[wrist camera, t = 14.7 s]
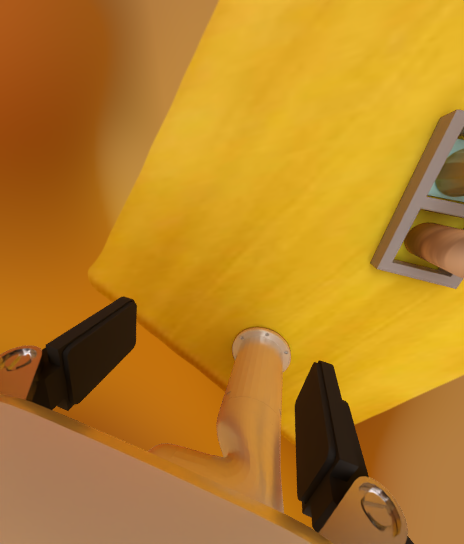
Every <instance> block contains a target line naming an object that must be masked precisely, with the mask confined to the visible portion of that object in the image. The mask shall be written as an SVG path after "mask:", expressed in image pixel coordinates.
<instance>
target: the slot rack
mask: <svg viewBox="0 0 464 544" xmlns="http://www.w3.org/2000/svg"><path fill="white" fill-rule="evenodd" d="M459 135H462V136H464V111H462V110H455V111H453V112H451V113H449V114H447V115H445V116H443V117H441V118H440V120H439V122H438V124H437V126H436V128H435V130H434V132H433V134H432V136H431V138H430V140H429V142H428V145H427V147H426V149H425V151H424V153H423V155H422V157H421V159H420V161H419V163H418V165H417V167H416V169H415V171H414V174H413V176H412V178H411V180H410V182H409V184H408V186H407V188H406V190H405V192H404V194H403V196H402V198H401V200H400V203H399V205H398V207H397V209H396V211H395V213H394V215H393V217H392V219H391V221H390V223H389V225H388V227H387V229H386V231H385V234H384V236H383V238H382V240H381V242H380V244H379V246H378V248H377V250H376V252H375V254H374V256H373V258H372V260H371V264H372V265H373V266H374V267H375V268H377V269H380V270H384V271H388V272H392V273H395V274H399V275H403V276H407V277H411V278H415V279H419V280H423V281H427V282H431V283H435V284H439V285H443V286H447V287H451V288H455V289H456V288H457V287H458V285H459V284H460V283H461V281H462V280H463V278H461V277H458V276H456V275H454V274H452V273H450V272H448V271H446V270H444V269H442V268H440V267H439V269H438V270H436V269H432V268H428V267H424V266H419V265H415V264H411V263H407V262H403V261H399V260H395V259H394V258H395V256H396V254H397V252H398V250H399V248H400V246H401V245H402V243H403V241H404V239H405V237H406V235H407V233H408V231H409V229H410V227H411V226H412V224H413V222H414V220H415V218H416V216H417V214H418V212H419V210H420V209H422V210H427V211H432V212H437V213H441V214H446V215H451V216H456V217H461V218H464V204H460V203H455V202H450V201H445V200H440V199H435V198H430V197H427V195H430V196H435V197H440V198H445V199H451V200H456V201H461V202H464V196H461V197H450V196H446V195H444V194H443V193H441V192H440V191H439V189H438V188H437V185H436V178H437V176H438V174H439V172H440V170H441V168H442V167H443V165H444V163H445V161H446V159H447V158H448V157H449V156H450V155H451V154H453V153H454V152H456V151H458V150H461V149H464V140H461V139H457V138H458V136H459ZM463 230H464V229H463Z"/></svg>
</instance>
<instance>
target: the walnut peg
mask: <svg viewBox="0 0 464 544" xmlns="http://www.w3.org/2000/svg"><path fill="white" fill-rule="evenodd" d="M405 247H406V249H407V250H408V251H409V252H410V253H412V254H414V255H416V256H418V257H420V258H422V259H424V260H426V261H428V262H430V263H432V264H434V265H436V266H438V267H440V268H442V269H444V270H446V271H448V272H450V273H452V274H454V275H456V276H458V277H461V278H464V230H462V229H457V228H453V227H448V226H444V225H439V224H435V223H422V224H419V225H417V226H415V227H414V228H412V229H411V230H410V231H409V232H408V233H407V235H406V237H405Z"/></svg>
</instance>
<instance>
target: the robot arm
mask: <svg viewBox="0 0 464 544" xmlns="http://www.w3.org/2000/svg"><path fill="white" fill-rule="evenodd" d="M136 311H137V305H136V303H135V301H134V300H133V299H130V298H126V297H121V298H119V299H117V300H116V301H114V302H113V303H111V304H110V305H108V306H106V307H105V308H104V309H102V310H100V311H99V312H97V313H96V314H94V315H92V316H91V317H89V318H87V319H86V320H84V321H83V322H81V323H80V324H78V325H76V326H75V327H73V328H72V329H70V330H68V331H67V332H65V333H64V334H62V335H61V336H59V337H57V338H56V339H54V340H53V341H51V342H50V343H48V344H46V348H44V349H43V350H41V349H40V348H38V347H36V346H21V347H16V348H13V349H10V350H8V351H6V352H4V353H2V354H1V355H0V544H414V543H413V542H412V541H411V540H410V538H409V537H408V536H407V534H408V529H407V523H406V519H405V517H404V515H403V512H402V510H401V508H400V506H399V505H398V503H397V501H396V500H395V498H394V497H393V496H392V495H391V494H390V493H389V491H388V490H387V489H386V488H384V487H383V486H382V485H381V484H380V483H379V482H377V481H376V480H374V479H372V478H369V476H368V473H367V469H366V466H365V462H364V458H363V455H362V451H361V448H360V444H359V441H358V437H357V434H356V430H355V426H354V423H353V419H352V415H351V412H350V408H349V406H348V403H347V402H346V401H344V400H342V398H341V394H340V390H339V386H338V382H337V378H336V374H335V370H334V367H333V365H332V364H329V363H326V362H323V361H318V363H316V362H314V363H313V365H312V367H311V369H310V372H309V374H308V376H307V378H306V380H305V382H304V385H303V387H302V389H301V391H300V393H299V395H298V398H297V400H296V403H295V432H296V466H297V496H298V499H299V500H300V501H302V513H303V514H305V515H307V516H310V517H312V527H313V528H314V530H315V531H314V530H313V529H311V528H310V527H308V526H306V525H304V524H303V523H301V522H299V521H297V520H295V519H293V518H291V517H290V516H288V515H286V514H284V508H283V498H282V488H281V472H280V433H281V404H282V375H283V372H284V371H285V370H286V369H287V368H288V366H289V364H290V360H291V353H290V348H289V345H288V344H287V342H286V341H285V340H284V338H283V337H282V336H280V335H279V334H278V333H276V332H274V331H272V330H269V329H266V328H260V327H255V328H249V329H246V330H244V331H242V332H241V333H240V334H238V335H237V337H236V338H235V340H234V343H233V347H232V353H233V357H234V359H235V363H234V366H233V369H232V373H231V376H230V379H229V382H228V385H227V388H226V392H225V395H224V398H223V401H222V404H221V407H220V411H219V414H218V418H217V436H218V441H219V444H220V447H221V450H222V453H223V456H224V457H219V456H215V455H209V454H206V453H203V452H199V451H196V450H192V449H189V448H185V447H181V446H178V445H173V444H159V445H157V446H155V447H153V448H152V449H150V450H149V451H148V452H147V451H145V450H143V449H140V448H138V447H136V446H133V445H131V444H129V443H127V442H124V441H122V440H120V439H117V438H115V437H113V436H111V435H108V434H106V433H104V432H101V431H99V430H97V429H95V428H92V427H90V426H88V425H85V424H83V423H81V422H79V421H76V420H74V419H72V418H69V417H67V416H65V415H62V414H60V413H57V412H55V411H52V409H54V408H55V407H56V406H58V407H60V408H62V409H65V410H67V411H68V410H69V409H70V408H71V407H72V406H73V405H74V404H78V403H80V402H81V401H82V400H83V399H84V398H85V397H86V396H87V395H88V394H89V393H90V392H91V391H92V390H93V389H94V388H95V387H96V386H97V385H98V384H99V383H100V382H101V381H102V380H103V379H104V378H105V377H106V376H107V375H108V373H109V372H111V370H112V369H114V368H115V367H116V365H117V364H118V363H119V362H120V361H121V360H122V359H123V358H124V357H125V356H126V355H127V354H128V353H129V352H130V351H131V350H132V349H133V348H134V346H135V344H136Z"/></svg>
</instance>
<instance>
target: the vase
mask: <svg viewBox="0 0 464 544" xmlns="http://www.w3.org/2000/svg"><path fill="white" fill-rule="evenodd" d="M436 185H437V188H438V189H439V191H440V192H441V193H443V194H444V195H446V196H450V197H461V196H464V149H461V150H458V151H456V152H454V153H453V154H451V155H450V156H449V157H448V158H447V159H446V161H445V163H444V165H443V167H442V168H441V170H440V172H439V174H438V176H437V178H436Z"/></svg>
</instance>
